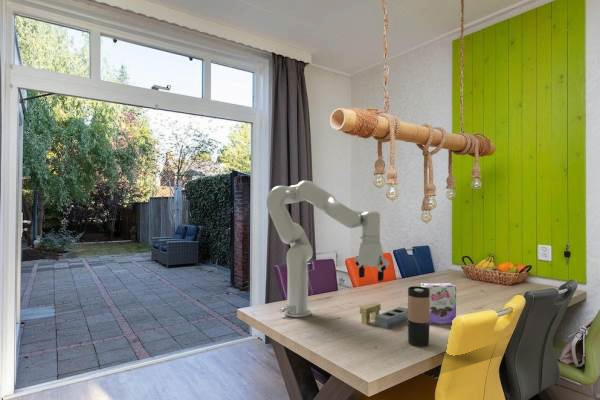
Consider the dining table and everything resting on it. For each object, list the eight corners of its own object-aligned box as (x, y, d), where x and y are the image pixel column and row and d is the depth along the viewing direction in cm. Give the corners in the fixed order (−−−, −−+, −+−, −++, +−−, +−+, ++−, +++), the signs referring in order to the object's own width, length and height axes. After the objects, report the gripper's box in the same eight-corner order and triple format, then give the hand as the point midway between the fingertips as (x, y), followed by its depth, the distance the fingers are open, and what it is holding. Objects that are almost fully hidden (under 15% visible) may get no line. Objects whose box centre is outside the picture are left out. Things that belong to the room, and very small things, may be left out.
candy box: (424, 324, 154) (425, 285, 154) (419, 320, 160) (419, 282, 160) (456, 324, 155) (456, 285, 155) (449, 319, 161) (450, 282, 161)
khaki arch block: (366, 324, 153) (366, 309, 153) (359, 322, 155) (359, 307, 156) (380, 318, 161) (380, 304, 161) (374, 317, 163) (374, 302, 163)
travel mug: (418, 338, 138) (418, 285, 138) (434, 345, 131) (434, 289, 131) (403, 341, 134) (403, 287, 134) (418, 349, 127) (419, 291, 128)
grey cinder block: (387, 329, 148) (387, 319, 148) (374, 325, 152) (374, 316, 152) (411, 318, 162) (411, 309, 162) (399, 315, 166) (399, 306, 166)
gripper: (349, 238, 162) (349, 277, 162) (383, 241, 150) (383, 283, 150) (359, 237, 167) (359, 275, 167) (393, 240, 155) (393, 280, 155)
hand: (370, 278), depth 158 cm, fingers open, 9 cm apart
